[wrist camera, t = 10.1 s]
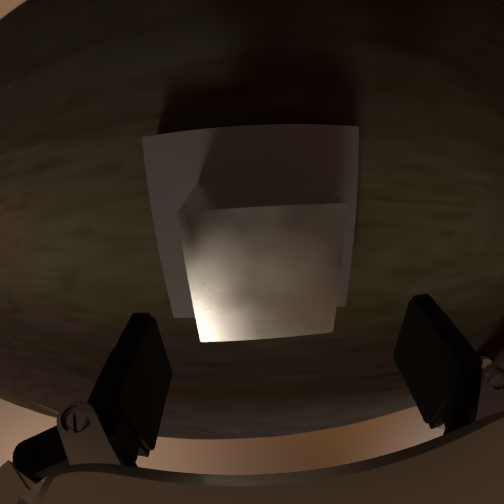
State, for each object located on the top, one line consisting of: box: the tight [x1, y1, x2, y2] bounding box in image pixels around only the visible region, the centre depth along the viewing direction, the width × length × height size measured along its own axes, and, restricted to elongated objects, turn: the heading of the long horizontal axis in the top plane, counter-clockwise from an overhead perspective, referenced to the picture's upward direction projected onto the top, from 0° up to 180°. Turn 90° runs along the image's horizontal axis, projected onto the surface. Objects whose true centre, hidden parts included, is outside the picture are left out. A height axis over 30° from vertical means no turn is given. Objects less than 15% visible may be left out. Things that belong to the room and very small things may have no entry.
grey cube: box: [177, 176, 346, 342], centre depth 15 cm, size 7×7×6 cm
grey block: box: [142, 124, 359, 318], centre depth 17 cm, size 13×13×7 cm
